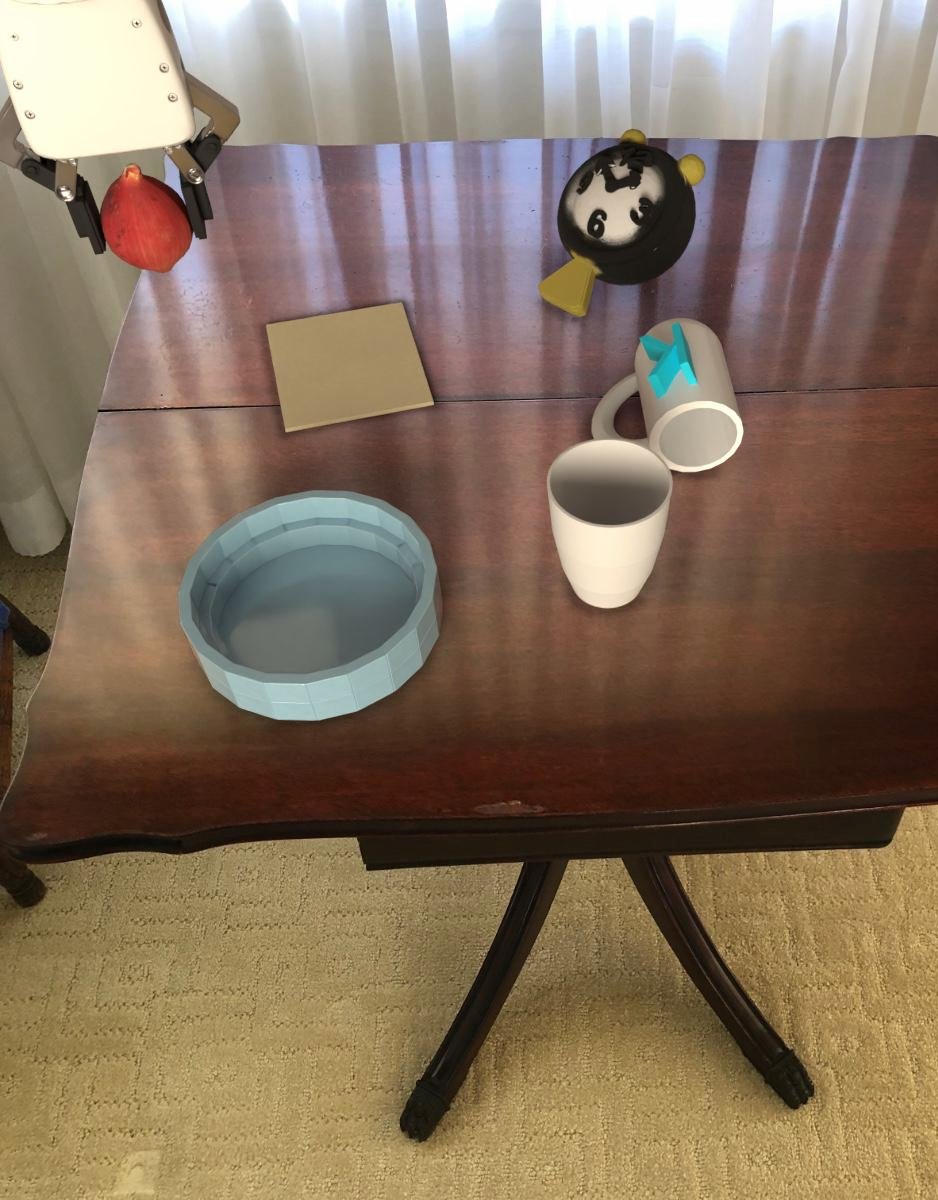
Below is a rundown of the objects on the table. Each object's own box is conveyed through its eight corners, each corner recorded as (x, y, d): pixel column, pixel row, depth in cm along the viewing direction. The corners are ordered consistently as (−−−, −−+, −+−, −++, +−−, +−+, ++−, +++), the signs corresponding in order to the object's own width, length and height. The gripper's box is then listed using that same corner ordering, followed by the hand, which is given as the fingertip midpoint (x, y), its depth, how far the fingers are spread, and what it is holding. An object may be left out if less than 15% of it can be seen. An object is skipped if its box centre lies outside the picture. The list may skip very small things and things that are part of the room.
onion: (130, 304, 75) (90, 197, 69) (112, 260, 78) (72, 154, 72) (214, 282, 77) (183, 175, 71) (194, 240, 80) (162, 134, 74)
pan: (207, 751, 69) (187, 711, 66) (189, 560, 79) (171, 517, 76) (465, 689, 72) (459, 648, 69) (417, 513, 82) (409, 470, 79)
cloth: (286, 432, 88) (284, 428, 87) (266, 328, 96) (265, 324, 96) (434, 405, 90) (433, 401, 90) (402, 305, 98) (402, 301, 98)
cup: (673, 549, 80) (683, 449, 73) (651, 635, 75) (659, 537, 68) (565, 530, 81) (564, 429, 74) (537, 613, 76) (532, 514, 69)
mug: (693, 269, 85) (719, 368, 78) (728, 353, 92) (754, 452, 85) (556, 325, 88) (567, 426, 81) (599, 403, 95) (614, 503, 87)
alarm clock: (537, 294, 106) (537, 125, 100) (688, 297, 107) (697, 129, 100) (538, 318, 95) (538, 131, 89) (704, 321, 96) (716, 135, 90)
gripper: (208, -89, 65) (272, 190, 79) (-106, -62, 62) (19, 225, 76) (217, -40, 61) (284, 247, 75) (-120, -7, 58) (16, 287, 72)
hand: (150, 233), depth 75 cm, fingers closed on onion, 6 cm apart
